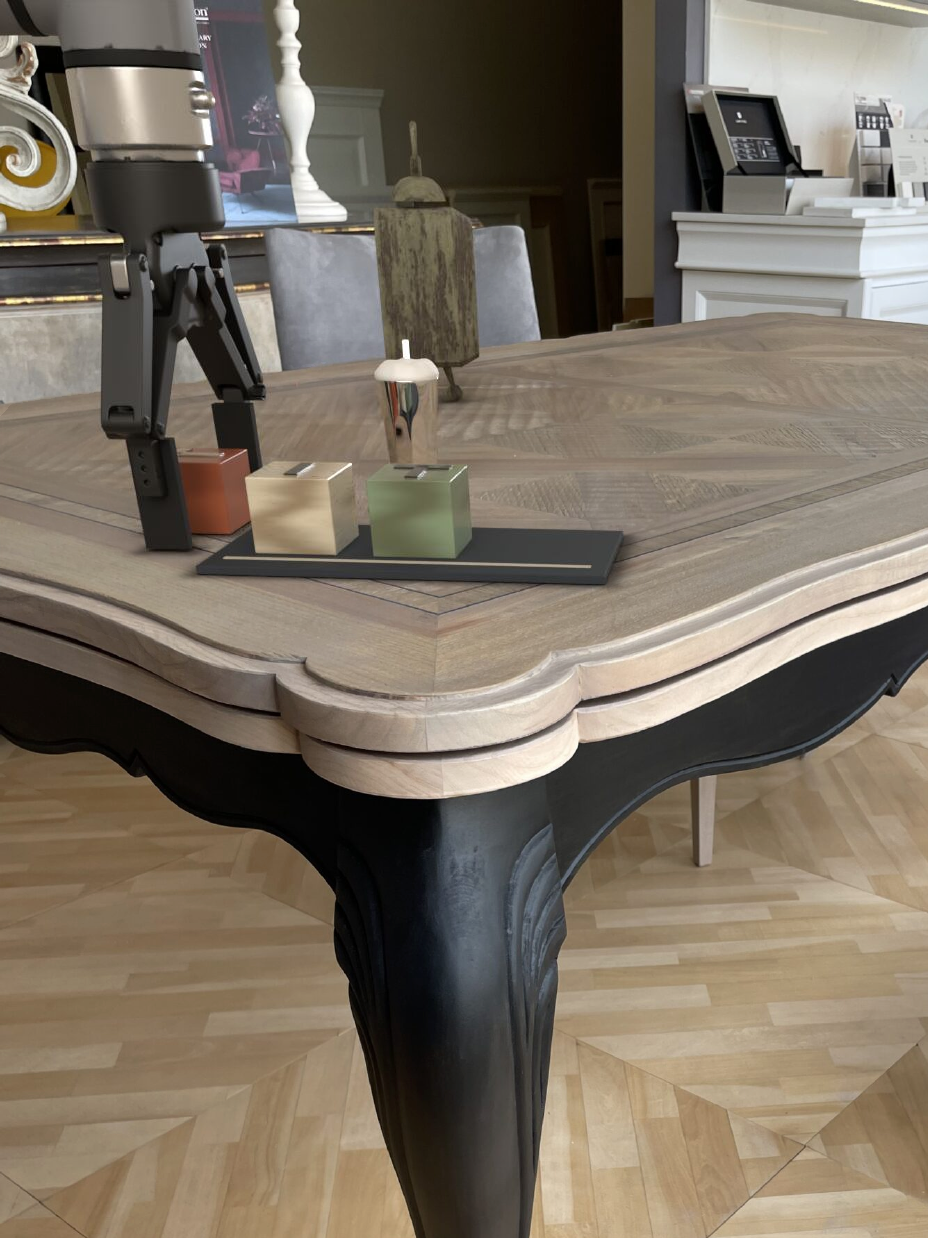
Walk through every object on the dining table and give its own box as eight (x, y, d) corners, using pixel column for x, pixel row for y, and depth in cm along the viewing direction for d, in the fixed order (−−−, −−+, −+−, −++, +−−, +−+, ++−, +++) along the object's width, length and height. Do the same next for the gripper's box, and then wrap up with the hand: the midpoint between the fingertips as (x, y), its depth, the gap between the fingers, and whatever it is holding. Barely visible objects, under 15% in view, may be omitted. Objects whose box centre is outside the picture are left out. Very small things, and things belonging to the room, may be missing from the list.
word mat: (196, 574, 76) (195, 565, 76) (261, 529, 86) (259, 521, 86) (604, 584, 75) (604, 575, 75) (623, 538, 85) (623, 529, 84)
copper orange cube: (155, 533, 85) (142, 460, 83) (185, 515, 89) (174, 445, 87) (230, 534, 85) (219, 461, 83) (257, 517, 89) (247, 447, 87)
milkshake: (447, 479, 100) (437, 339, 96) (446, 494, 96) (436, 348, 91) (387, 481, 100) (374, 340, 95) (383, 495, 95) (369, 348, 90)
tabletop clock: (393, 391, 141) (370, 123, 129) (478, 390, 142) (462, 124, 130) (390, 413, 128) (364, 118, 116) (483, 411, 129) (466, 119, 117)
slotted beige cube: (255, 554, 79) (243, 475, 76) (282, 534, 83) (272, 459, 81) (336, 555, 78) (327, 477, 76) (359, 535, 83) (351, 460, 81)
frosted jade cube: (373, 557, 78) (365, 478, 76) (394, 536, 83) (387, 461, 80) (455, 559, 78) (450, 479, 76) (472, 538, 82) (467, 463, 80)
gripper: (119, 154, 66) (193, 572, 76) (281, 159, 88) (322, 484, 98) (-25, 154, 66) (68, 570, 76) (173, 160, 88) (224, 482, 98)
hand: (211, 522), depth 87 cm, fingers open, 13 cm apart
